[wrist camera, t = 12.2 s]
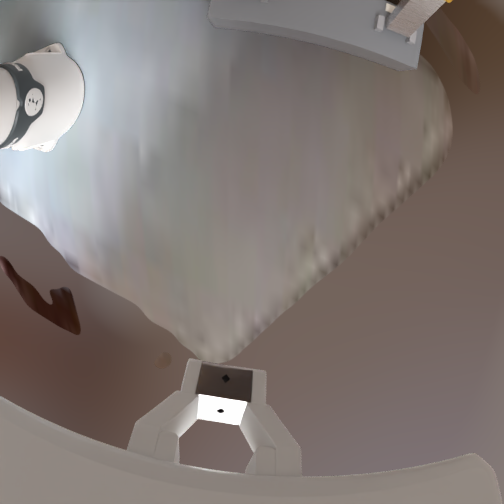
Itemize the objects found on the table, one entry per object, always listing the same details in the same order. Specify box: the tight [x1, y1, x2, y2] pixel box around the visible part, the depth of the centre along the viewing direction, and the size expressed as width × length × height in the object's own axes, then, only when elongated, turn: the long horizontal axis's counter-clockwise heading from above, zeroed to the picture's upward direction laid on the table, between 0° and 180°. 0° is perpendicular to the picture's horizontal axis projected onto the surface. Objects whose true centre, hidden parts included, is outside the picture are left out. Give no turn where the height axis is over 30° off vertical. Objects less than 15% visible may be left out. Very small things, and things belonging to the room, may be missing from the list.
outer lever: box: [386, 0, 452, 38], centre depth 20 cm, size 4×2×11 cm, turn 80°
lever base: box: [207, 0, 424, 71], centre depth 28 cm, size 26×8×7 cm, turn 80°
